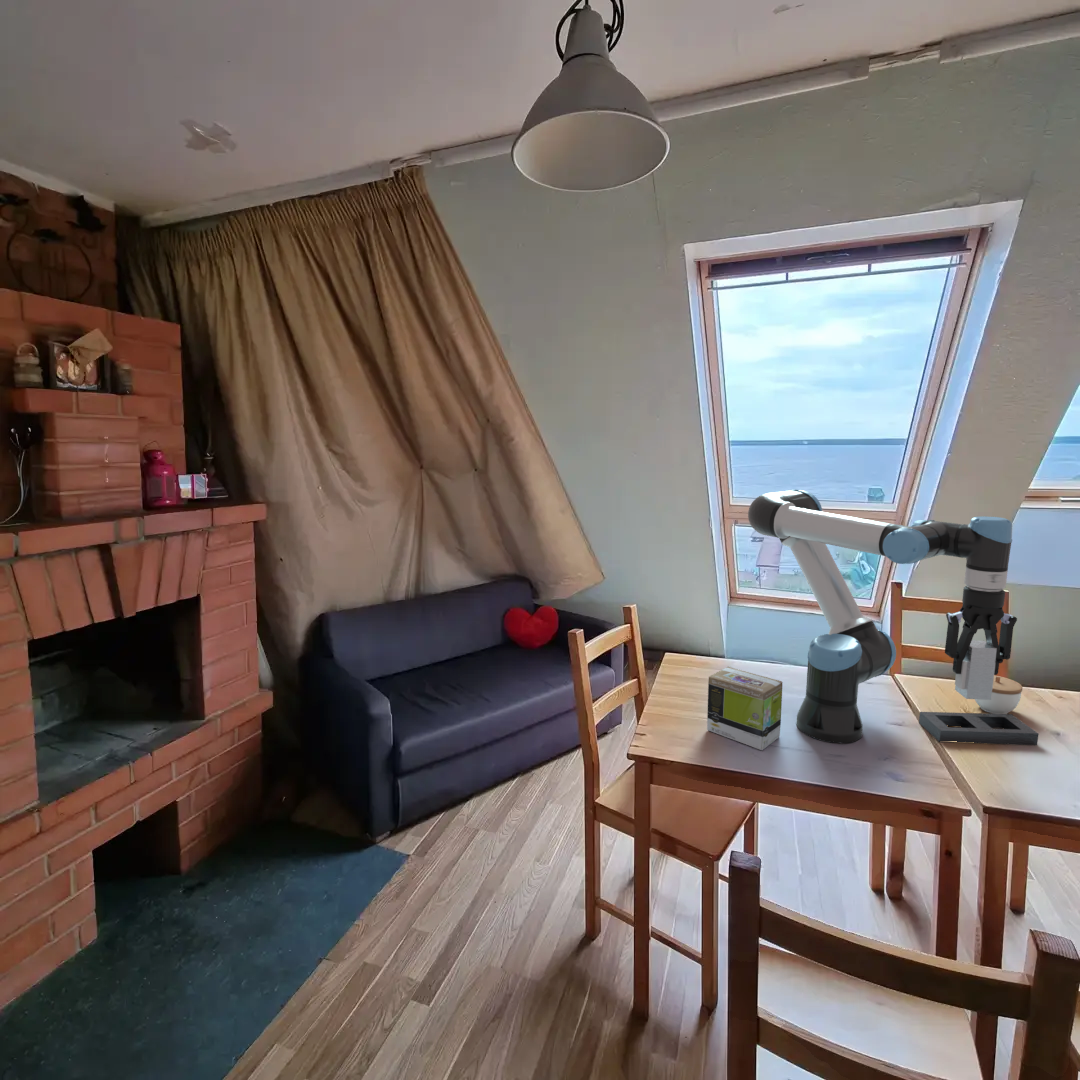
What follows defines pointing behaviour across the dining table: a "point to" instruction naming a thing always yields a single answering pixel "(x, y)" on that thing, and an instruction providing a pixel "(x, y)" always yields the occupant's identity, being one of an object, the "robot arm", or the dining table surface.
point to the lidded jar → (1002, 696)
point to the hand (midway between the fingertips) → (973, 687)
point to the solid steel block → (979, 671)
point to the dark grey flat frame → (978, 728)
